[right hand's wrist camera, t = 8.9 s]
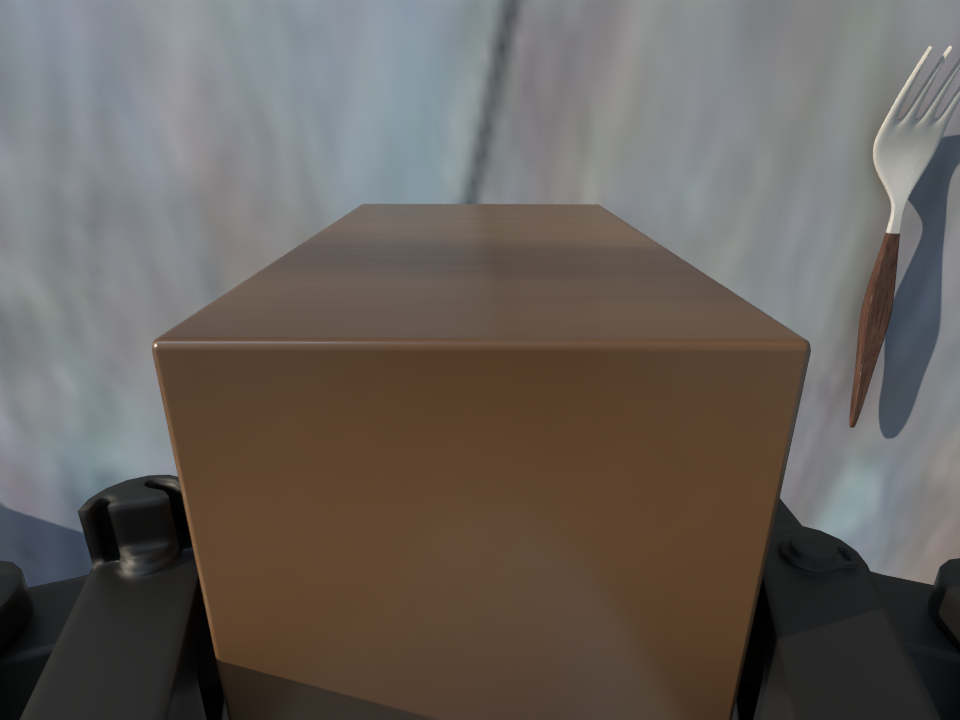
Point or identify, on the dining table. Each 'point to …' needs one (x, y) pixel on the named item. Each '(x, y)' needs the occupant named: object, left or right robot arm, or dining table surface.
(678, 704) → the bar
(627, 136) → the dining table surface
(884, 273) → the fork
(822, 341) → the dining table surface
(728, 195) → the dining table surface
